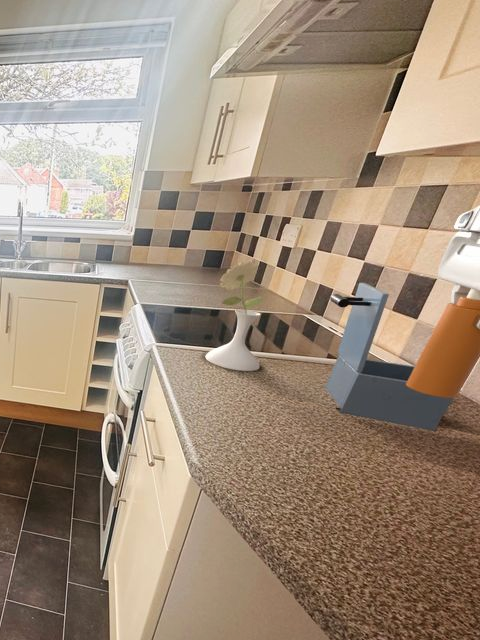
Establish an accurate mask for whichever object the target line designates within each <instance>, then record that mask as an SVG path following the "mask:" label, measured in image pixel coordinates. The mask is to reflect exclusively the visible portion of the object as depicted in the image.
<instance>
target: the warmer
mask: <svg viewBox="0 0 480 640" xmlns="http://www.w3.org/2000/svg"><path fill="white" fill-rule="evenodd" d="M414 367H415V365H408V364H404V363H403V364H402V363H397V362H389V361H384V360H383V361H381V360H376V359H375V360H374V359H368V358H367V359H366V362H365V365H364V368H363V371H362V372H357V371H356V370H355V369H354V368H353V367H352V366H351V365H350V364H349V363H347V362H346V361H345V360H344V359H343V358H342V357H341V356H340V355H339V354H338V356H337V358H336V360H335V362H334V365H333V368H332V369H331V372H330V374H329V377H328V379H327V381H326V384H325V386H324V388H325V389H326V391H327V392H328V393H329V394H330V396H331V397H332V399H333V400H334V401H335V403H336V404H337V405H338V406H337V407H335V408H336V409H337V411H338V412H339V413H340V414H344V415H349V416H355V417H358V418H359V417H360V418H364V419H369V420H375V421H380V422H385V423H391V424H397V425H401V426H407V427H412V428H416V429H422V430H427V431H434V432H435V430H436V429H437V427H438V425H439V424H440V421H441V420H442V418H443V417H444V415H445V413H446V412H447V410H448V408H449V406H450V404H451V403H452V401H453V399H454V398H444V397H437V396H432V395H428V394H425V393H421V392H418V391H416V390H413V389H411V388H409V387H408V386H407V385H406V382H407V381H408V379H409V377H410V375H411V373H412V371H413V369H414Z"/></svg>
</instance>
